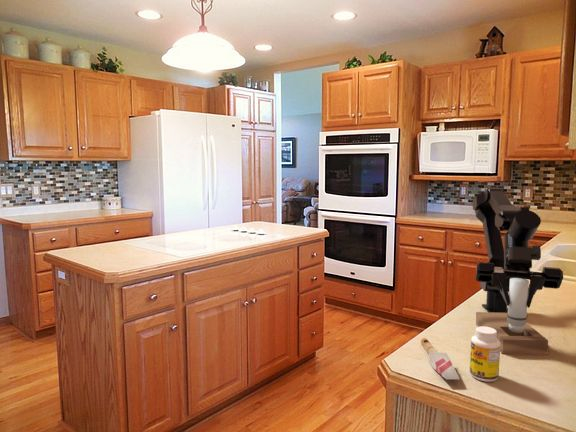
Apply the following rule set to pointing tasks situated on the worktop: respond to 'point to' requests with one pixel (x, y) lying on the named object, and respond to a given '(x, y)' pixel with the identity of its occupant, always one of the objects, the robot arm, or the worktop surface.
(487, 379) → the supplement bottle
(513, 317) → the peg
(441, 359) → the paintbrush
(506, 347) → the brown holed block
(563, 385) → the worktop surface
